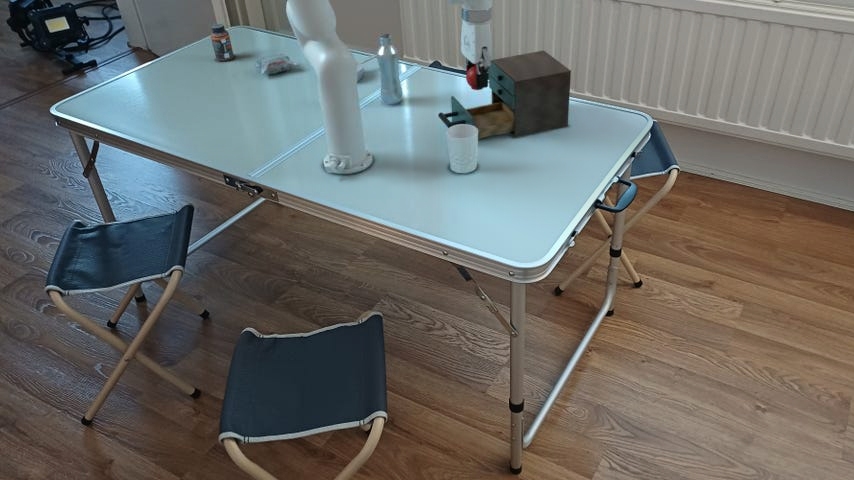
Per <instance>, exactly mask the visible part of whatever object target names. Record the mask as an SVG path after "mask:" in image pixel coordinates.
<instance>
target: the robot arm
mask: <svg viewBox="0 0 854 480" xmlns="http://www.w3.org/2000/svg"><path fill="white" fill-rule="evenodd" d="M446 2H448V3H449V4H451V5H457V6H459V5H461V33H460V52H461V54H462V55H463V57H465V58H466V59H465V64H466V66H465V67H466V68H465V70H466V71H465V72H466V74H467V72H468V70H469V69H470V68H471V67H474V66H476V67H477V74H476V88H477V89H480V88H483V89H485V88H486V89H487V88H488V87H489V68H490V66H491V64H490V61H491V60H492V32H491V31H492V30H491V22H492V21H493V0H446ZM285 7H286V8H285V10H286V11H285V12H286V16H287V20H288V22H289V25H290V27H291V30H292V31H293V33H294V36H295V38H296V40H297V43H298V45H299V47H300V50H301V51H302V54H303V56H304V58H305V59H306V61H307V63H308V65H310V67H311V68H312V69H313V71H314V72H315V74H316V79H317V93H318V100H319V102H318V103H319V107H320V112H321V113H320V114H321V119H322V125H323V129H324V136H325V143H326V149H327V154H326V155H325V156H324V158H323V167H324V168H325V172H326V173H327V174H332V173H333V174H338V175H339V174H340V175H349V174H355V173H359V172H362V171H364V170H366V169H368V168H369V167H370V166H371V165H372V163H373V161H374V160H373V154H372V152H371V151H369V150H368V149H367V148H366V144H365V135H364V128H363V122H362V121H363V120H362V114H361V105H360V97H359V88H358V81H357V64H356V62H357V60H356V59H355V55H354V54H353V52H352V51H351V50H350V48H349V47H348V46H347V45H346V44H345V43H344V42H343V41H342V40H341V39H340V37H339V36H338V34H337V32H336V28H337V16H336V13H335V11H334V9H333V6H332V4H331V2H330V0H287V1H286V5H285ZM480 66H481V68H480Z"/></svg>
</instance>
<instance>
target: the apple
mask: <svg viewBox="0 0 854 480" xmlns="http://www.w3.org/2000/svg"><path fill="white" fill-rule="evenodd" d="M481 67H482V65H480V68H481ZM476 74H477V67H476V66H474V67H471V68H470V69H469V70H468V72H467V73H466V77H465V80H466V83H467V84H468V86H469V87H470V89H472V90H474V91H481V90H483V89H484V88H480V89H477V88H476Z"/></svg>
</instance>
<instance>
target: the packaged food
mask: <svg viewBox="0 0 854 480" xmlns="http://www.w3.org/2000/svg"><path fill="white" fill-rule="evenodd" d="M296 66H297V63H296V62H294V61H293V60H291V59H290V57H289V56H288V55H285V54H284V53H278V54H277V53H276V54H273V55H272V54H271V55H267V56H263V57H261V58H258V59H257V60H256V62H255V65H254V69H257V68H258V70H260V71H261V72H260V75H261V76H262V75H267V76H270V75H275V74H279V73H283V72H287V71H289V70H292V69H293V68H295V67H296Z"/></svg>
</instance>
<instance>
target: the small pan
mask: <svg viewBox="0 0 854 480" xmlns="http://www.w3.org/2000/svg"><path fill="white" fill-rule="evenodd" d="M373 59H377V54H373V55H371V56H369V57H367V58H365V59H363V60H362V59H361V60H360V61H356V64H357V82H358V81H360V80H361V79H362V76H363V74H364V69H365V68H364V63H367V62H370V61H371V60H373Z"/></svg>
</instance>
